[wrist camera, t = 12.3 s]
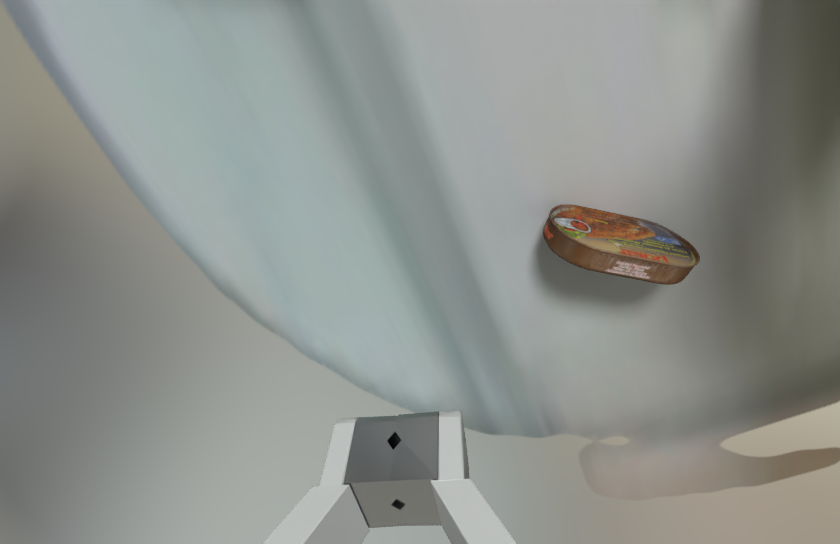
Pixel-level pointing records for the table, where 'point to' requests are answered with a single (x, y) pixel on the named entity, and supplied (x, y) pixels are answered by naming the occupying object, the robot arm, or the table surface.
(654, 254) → the tin
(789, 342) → the table surface
